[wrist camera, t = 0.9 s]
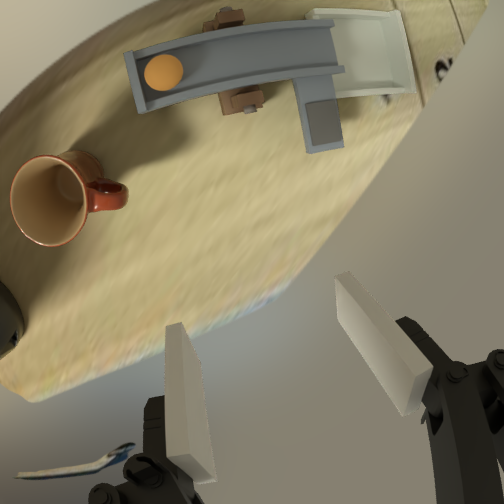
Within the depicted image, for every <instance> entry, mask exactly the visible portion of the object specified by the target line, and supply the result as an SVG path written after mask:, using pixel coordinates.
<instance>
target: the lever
mask: <svg viewBox="0 0 504 504" xmlns="http://www.w3.org/2000/svg"><path fill="white" fill-rule="evenodd" d="M334 26H335V24H334V20H333V19H312V20H292V21H279V22H268V23H259V24H251V25H244V26H237V27H231V28H225V29H220V30H215V31H210V32H205V33H200V34H196V35H191V36H187V37H183V38H179V39H175V40H171V41H168V42H164V43H160V44H157V45H154V46H150V47H147V48H144V49H141V50H138V51H135V52H133V51H132V50H131V51H128V52H125V53H123V54H124V58H125V63H126V67H127V71H128V76H129V80H130V84H131V88H132V92H133V96H134V100H135V104H136V108H137V111H138V114H144V113H147V112H150V111H153V110H157V109H160V108H163V107H166V106H170V105H173V104H176V103H180V102H184V101H187V100H191V99H195V98H199V97H202V96H206V95H211V94H215V93H219V92H223V91H228V90H233V89H237V88H242V87H247V86H253V85H258V84H264V83H270V82H276V81H282V80H289V79H292V81H293V85H294V90H295V95H296V100H297V105H298V110H299V115H300V120H301V125H302V130H303V136H304V141H305V147H306V153H309V154H312V153H317V152H322V151H327V150H332V149H338V148H343V147H344V143H343V136H342V129H341V123H340V117H339V111H338V105H337V99H336V94H335V89H334V83H333V78H332V75H334V74H340V73H346V72H345V67H344V65H339V66H338V61H337V56H336V52H335V48H334V43H333V39H332V35H331V31H330V28H332V27H334ZM159 55H172V56H174V57H176V58H177V59H178V60H179V61H180V62H181V64H182V66H183V76H182V78H181V80H180V82H179V83H178V84H177V85H176V86H175V87H174V88H172V89H169V90H166V91H159V90H155V89H153V88H151V87H150V86H149V85H148V84H147V82H146V80H145V77H144V72H145V68H146V66H147V64H148V63H149V62H150V60H152V59H153V58H154V57H156V56H159Z"/></svg>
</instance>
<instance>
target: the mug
mask: <svg viewBox="0 0 504 504" xmlns="http://www.w3.org/2000/svg"><path fill="white" fill-rule="evenodd" d="M128 197H129V191H128V188H127V186H125V185H124V184H121V183H118V182H115V181H112V180H110V179H107V178H104V170H103V168H102V166H101V164H100V163H99V161H98V160H97V159H96V158H95V157H94V156H93V155H91V154H89V153H87V152H84V151H78V150H72V151H67V152H64V153H62V154H60V155H58V156H54V155H40V156H36V157H34V158H32V159H30V160H28V161H27V162H26V163H24V164H23V165H22V166H21V168H20V169H19V170H18V172H17V173H16V175H15V177H14V179H13V182H12V185H11V190H10V206H11V211H12V215H13V217H14V220H15V222H16V224H17V226H18V227H19V229H20V230H21V231H22V232H23V233H24V235H25V236H27V237H28V238H29V239H30V240H32V241H33V242H35V243H37V244H40V245H43V246H49V247H54V246H60V245H63V244H66V243H68V242H69V241H71V240H72V239H74V238H75V237H76V236H77V235H78V233H79V232H80V231H81V229H82V228H83V226H84V224H85V222H86V219H87V215H88V213H90V212H97V211H101V210H117V209H121V208H123V207H124V206H125V205H126V204H127V202H128Z"/></svg>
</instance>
